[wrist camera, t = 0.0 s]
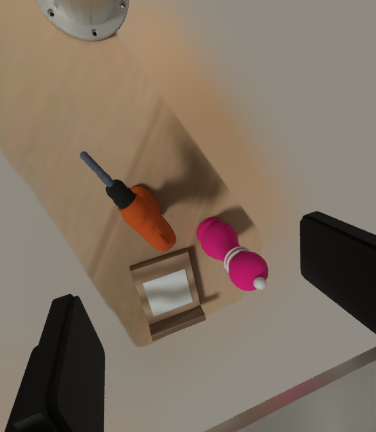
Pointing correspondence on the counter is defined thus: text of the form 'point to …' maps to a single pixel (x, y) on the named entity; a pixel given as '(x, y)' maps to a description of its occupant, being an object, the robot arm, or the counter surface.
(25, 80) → the counter surface
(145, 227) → the toy drill
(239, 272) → the pepper mill
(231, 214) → the counter surface
